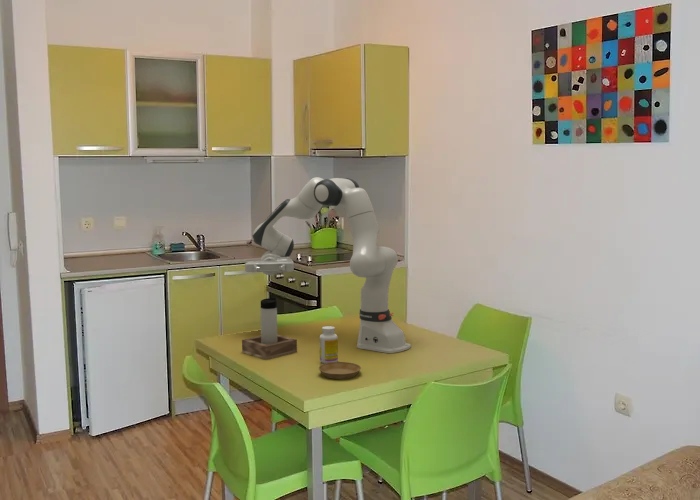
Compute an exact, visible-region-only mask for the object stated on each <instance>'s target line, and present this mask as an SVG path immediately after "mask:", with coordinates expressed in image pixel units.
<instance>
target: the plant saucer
mask: <svg viewBox="0 0 700 500" xmlns="http://www.w3.org/2000/svg"><path fill="white" fill-rule="evenodd" d="M361 369H362V367H361V365H359V364H357V363H354V362H348V361H346V362H345V361H337V362H330V363H322V364H320V365H319V366H318V370H319V372H320V373H321V374H322V375H323V376H325V377H326V378H328V379H335V380H345V379H349V378H354V377H355V376H356V375H357V374H358V373H359V372H360V371H361Z"/></svg>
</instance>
